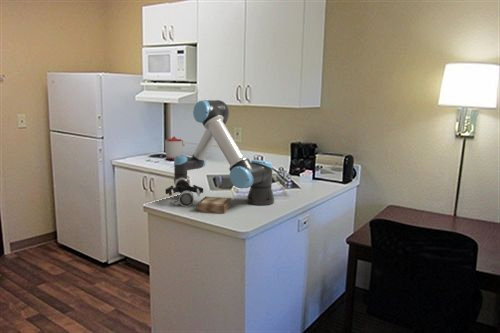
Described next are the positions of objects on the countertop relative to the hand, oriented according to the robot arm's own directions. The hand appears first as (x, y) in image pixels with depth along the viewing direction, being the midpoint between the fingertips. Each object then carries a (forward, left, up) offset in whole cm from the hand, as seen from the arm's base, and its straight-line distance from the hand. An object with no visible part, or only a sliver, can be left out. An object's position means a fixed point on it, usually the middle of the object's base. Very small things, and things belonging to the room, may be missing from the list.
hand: (186, 194), depth 216 cm
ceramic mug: (+1, -1, -6) cm, 6 cm away
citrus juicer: (+57, -137, -6) cm, 149 cm away
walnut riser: (-16, +1, -6) cm, 17 cm away
